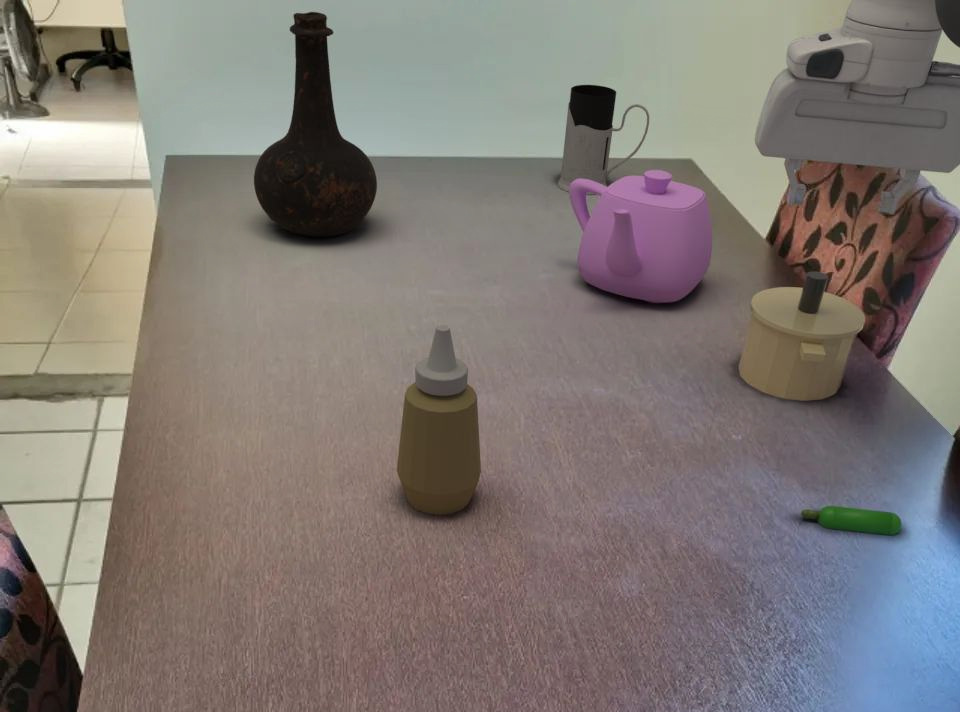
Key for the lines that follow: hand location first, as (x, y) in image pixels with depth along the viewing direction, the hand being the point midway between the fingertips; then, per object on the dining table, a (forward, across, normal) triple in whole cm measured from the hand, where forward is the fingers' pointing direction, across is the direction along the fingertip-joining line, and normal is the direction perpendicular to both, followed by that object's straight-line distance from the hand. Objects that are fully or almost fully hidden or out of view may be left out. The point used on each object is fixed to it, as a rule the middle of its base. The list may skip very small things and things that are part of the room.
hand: (839, 208), depth 101 cm
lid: (+13, -1, -4) cm, 14 cm away
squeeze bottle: (+22, +37, +30) cm, 53 cm away
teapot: (+22, +17, -29) cm, 40 cm away
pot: (+22, -1, -4) cm, 22 cm away
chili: (+22, -4, +27) cm, 35 cm away
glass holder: (+22, +24, -71) cm, 78 cm away
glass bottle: (+22, +66, -40) cm, 80 cm away
